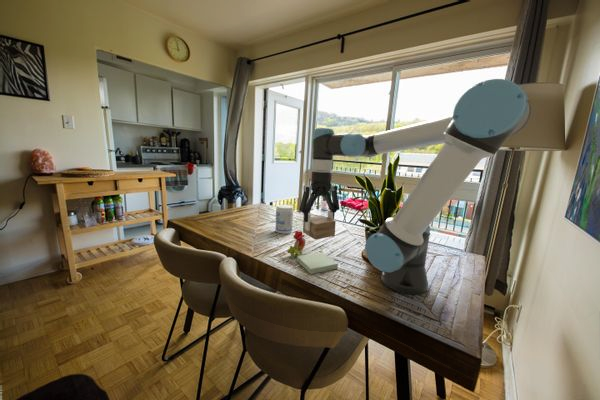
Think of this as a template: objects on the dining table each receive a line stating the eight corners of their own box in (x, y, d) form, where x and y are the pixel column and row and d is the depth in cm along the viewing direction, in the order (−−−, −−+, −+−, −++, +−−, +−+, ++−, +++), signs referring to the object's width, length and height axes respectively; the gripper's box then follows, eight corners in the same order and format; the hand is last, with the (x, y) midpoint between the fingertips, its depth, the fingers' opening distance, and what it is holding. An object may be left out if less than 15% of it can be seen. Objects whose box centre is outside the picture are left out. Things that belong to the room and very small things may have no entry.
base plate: (337, 268, 95) (337, 263, 95) (310, 273, 90) (310, 268, 90) (321, 256, 106) (322, 252, 106) (297, 260, 101) (297, 256, 100)
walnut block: (334, 236, 94) (335, 221, 93) (315, 239, 90) (315, 224, 88) (321, 229, 102) (322, 215, 100) (303, 232, 97) (303, 217, 96)
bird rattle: (293, 255, 111) (283, 253, 104) (300, 231, 113) (290, 228, 105) (305, 258, 108) (296, 257, 100) (311, 234, 110) (302, 231, 102)
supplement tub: (272, 232, 135) (272, 206, 132) (279, 228, 143) (280, 203, 140) (288, 235, 131) (289, 208, 128) (295, 230, 140) (295, 205, 137)
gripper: (340, 170, 99) (336, 223, 103) (290, 170, 90) (289, 228, 94) (351, 172, 92) (347, 228, 97) (299, 172, 83) (297, 234, 87)
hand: (318, 228), depth 95 cm, fingers closed on walnut block, 9 cm apart
